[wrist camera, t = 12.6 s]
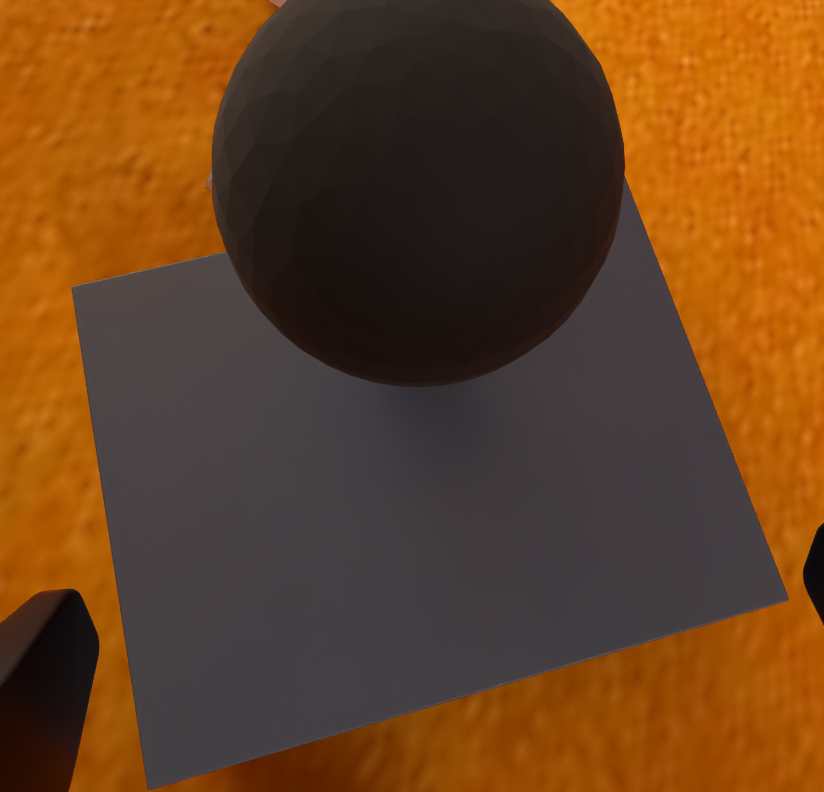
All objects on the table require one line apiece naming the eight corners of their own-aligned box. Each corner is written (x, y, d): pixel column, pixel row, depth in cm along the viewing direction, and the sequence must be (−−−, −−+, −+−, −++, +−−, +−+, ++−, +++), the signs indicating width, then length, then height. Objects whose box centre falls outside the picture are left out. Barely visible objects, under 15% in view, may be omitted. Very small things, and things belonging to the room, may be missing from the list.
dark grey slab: (702, 592, 20) (790, 600, 15) (206, 737, 18) (146, 791, 14) (575, 239, 22) (619, 161, 18) (137, 343, 21) (70, 285, 17)
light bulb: (415, 197, 18) (445, -249, 8) (569, 354, 17) (816, 63, 7) (242, 333, 16) (31, 7, 7) (396, 509, 16) (404, 419, 6)
